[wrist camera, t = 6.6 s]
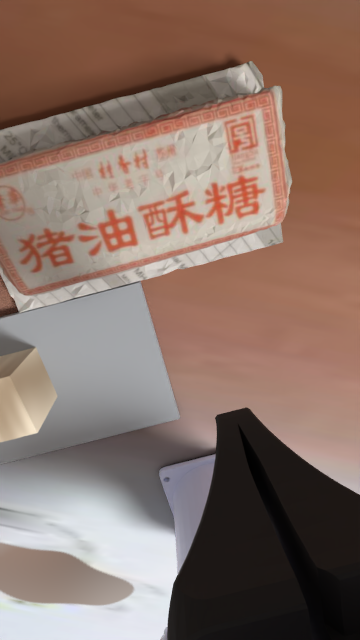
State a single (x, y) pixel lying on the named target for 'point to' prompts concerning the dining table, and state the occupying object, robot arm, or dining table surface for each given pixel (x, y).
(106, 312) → the grey mat
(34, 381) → the maple block
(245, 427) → the robot arm
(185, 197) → the packaged product
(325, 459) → the dining table surface
